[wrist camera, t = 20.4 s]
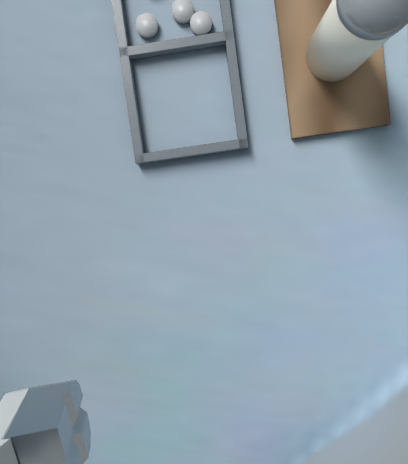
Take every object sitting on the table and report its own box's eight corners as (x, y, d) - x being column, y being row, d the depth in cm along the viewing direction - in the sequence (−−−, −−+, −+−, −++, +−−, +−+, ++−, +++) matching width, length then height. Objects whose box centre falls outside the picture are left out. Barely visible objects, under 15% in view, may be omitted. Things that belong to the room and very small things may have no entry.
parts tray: (137, 164, 37) (135, 163, 36) (108, -40, 36) (104, -47, 35) (247, 148, 36) (248, 146, 35) (220, -59, 35) (220, -66, 34)
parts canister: (307, 86, 35) (343, 40, 25) (301, 28, 35) (336, -42, 25) (364, 79, 35) (423, 29, 25) (359, 20, 35) (417, -53, 25)
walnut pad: (291, 139, 36) (292, 137, 36) (272, -14, 35) (273, -17, 35) (387, 125, 36) (390, 123, 35) (371, -30, 35) (373, -34, 34)
